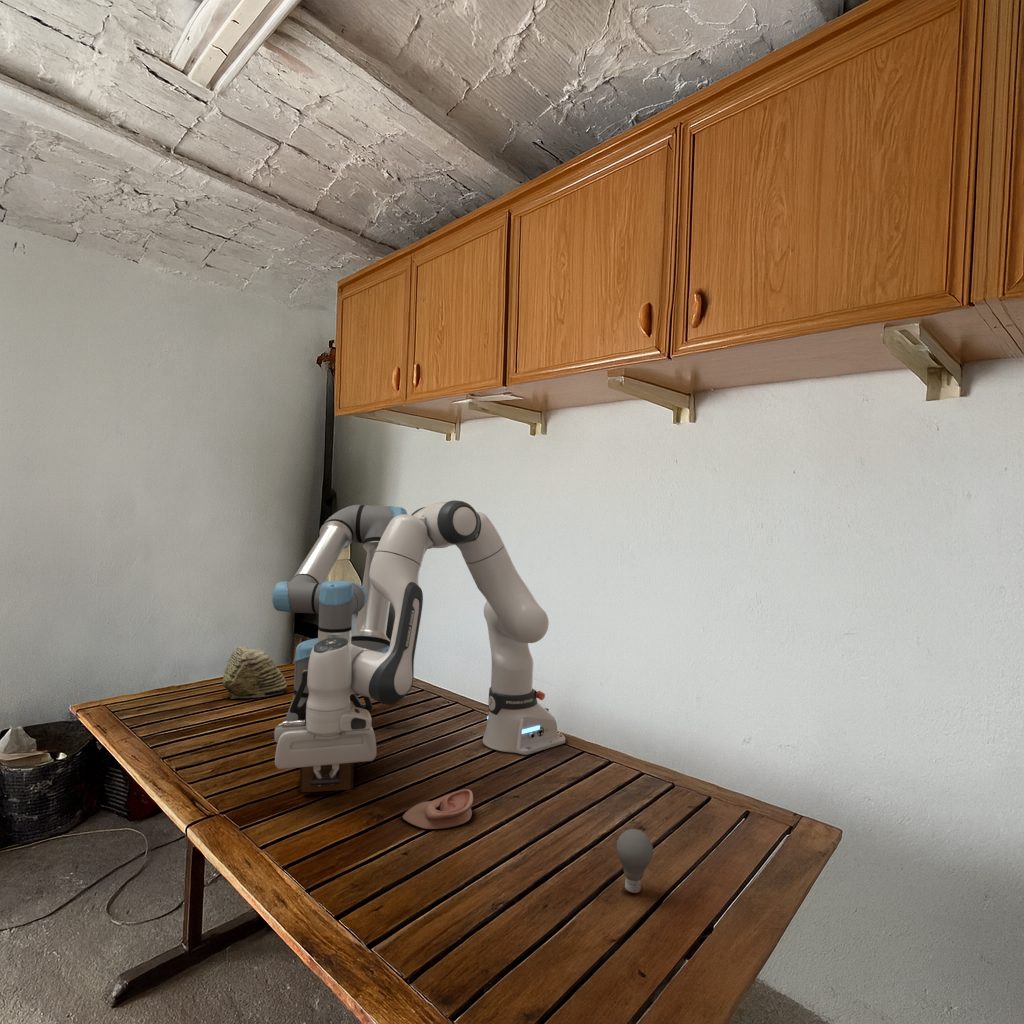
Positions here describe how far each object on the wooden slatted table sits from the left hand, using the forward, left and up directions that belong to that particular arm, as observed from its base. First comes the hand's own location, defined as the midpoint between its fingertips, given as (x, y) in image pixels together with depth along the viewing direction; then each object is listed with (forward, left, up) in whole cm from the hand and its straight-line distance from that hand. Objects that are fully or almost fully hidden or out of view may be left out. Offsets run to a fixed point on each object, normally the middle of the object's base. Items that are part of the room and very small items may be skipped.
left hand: (330, 740), depth 148 cm
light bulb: (-6, +76, -6) cm, 76 cm away
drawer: (+6, +8, -5) cm, 11 cm away
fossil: (-15, -61, -6) cm, 63 cm away
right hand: (+11, +14, -2) cm, 18 cm away
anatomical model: (-1, +35, -6) cm, 35 cm away
